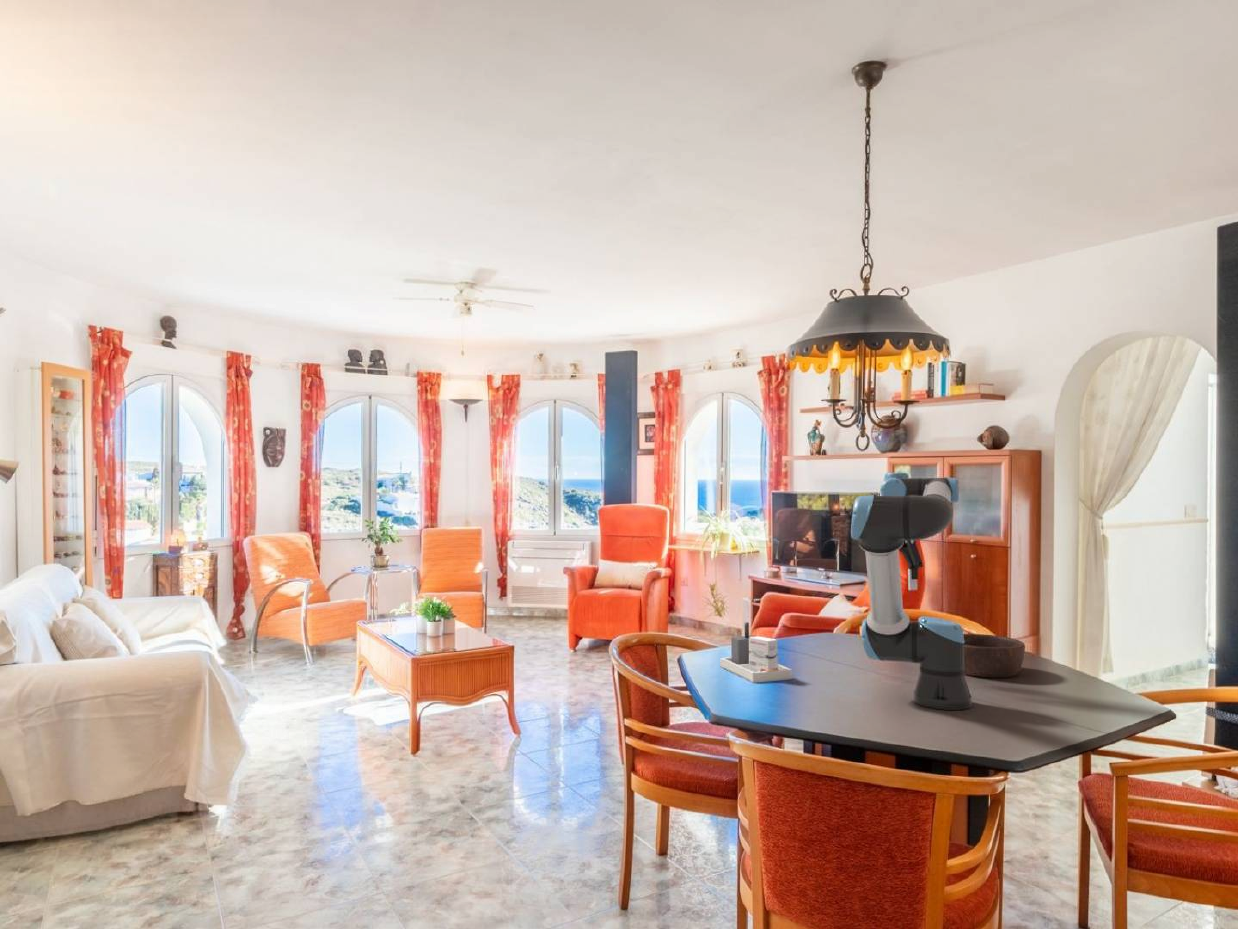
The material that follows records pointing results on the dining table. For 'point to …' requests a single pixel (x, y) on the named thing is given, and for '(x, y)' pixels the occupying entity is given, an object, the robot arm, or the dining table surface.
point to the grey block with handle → (741, 647)
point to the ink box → (762, 654)
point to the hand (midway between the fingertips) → (898, 587)
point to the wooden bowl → (992, 656)
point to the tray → (754, 677)
